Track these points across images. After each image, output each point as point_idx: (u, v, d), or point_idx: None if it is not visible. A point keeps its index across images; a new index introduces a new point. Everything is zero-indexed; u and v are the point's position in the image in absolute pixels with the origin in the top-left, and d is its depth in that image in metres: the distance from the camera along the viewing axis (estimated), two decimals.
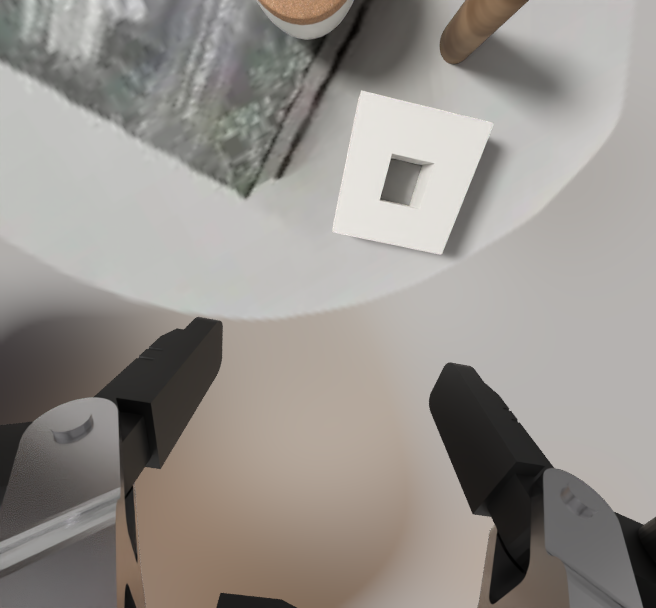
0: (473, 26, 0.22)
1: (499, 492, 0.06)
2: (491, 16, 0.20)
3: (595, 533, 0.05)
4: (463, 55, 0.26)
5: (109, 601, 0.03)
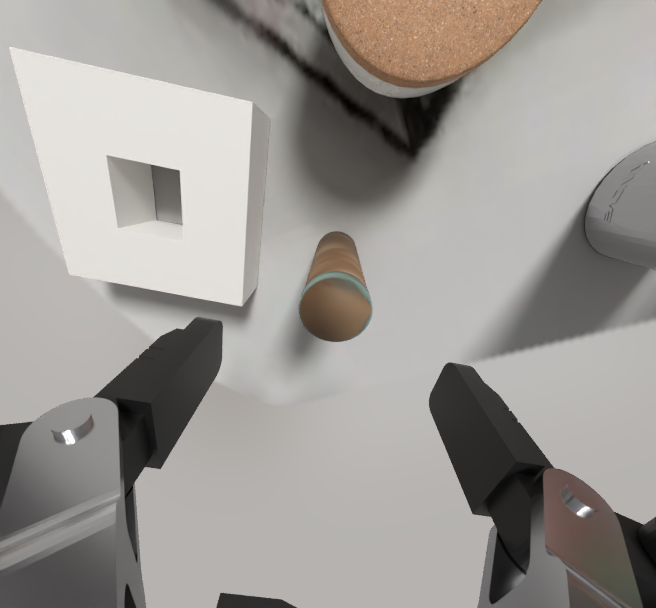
0: (315, 259, 0.17)
1: (499, 492, 0.06)
2: None
3: (595, 533, 0.05)
4: None
5: (109, 600, 0.03)
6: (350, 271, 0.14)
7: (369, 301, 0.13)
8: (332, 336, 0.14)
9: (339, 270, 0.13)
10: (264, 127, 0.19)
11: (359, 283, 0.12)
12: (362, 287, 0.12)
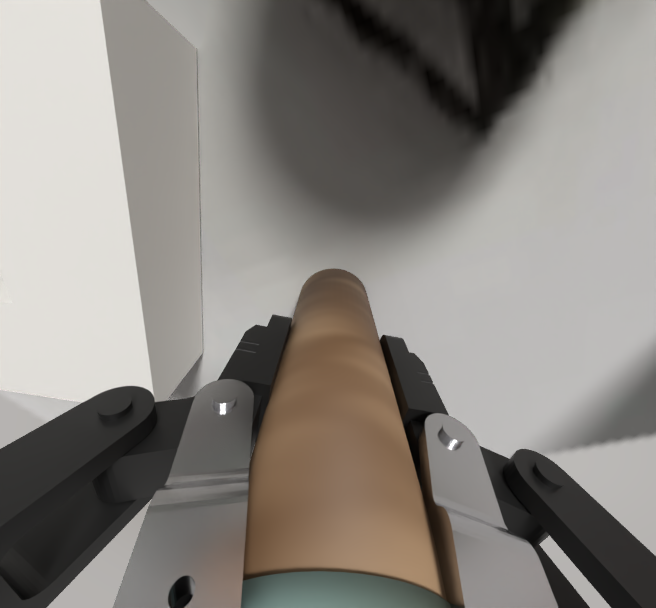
0: (283, 363, 0.07)
1: None
2: (257, 437, 0.06)
3: (452, 458, 0.05)
4: None
5: (238, 574, 0.03)
6: (385, 518, 0.04)
7: None
8: None
9: (347, 541, 0.03)
10: (177, 61, 0.09)
11: None
12: None
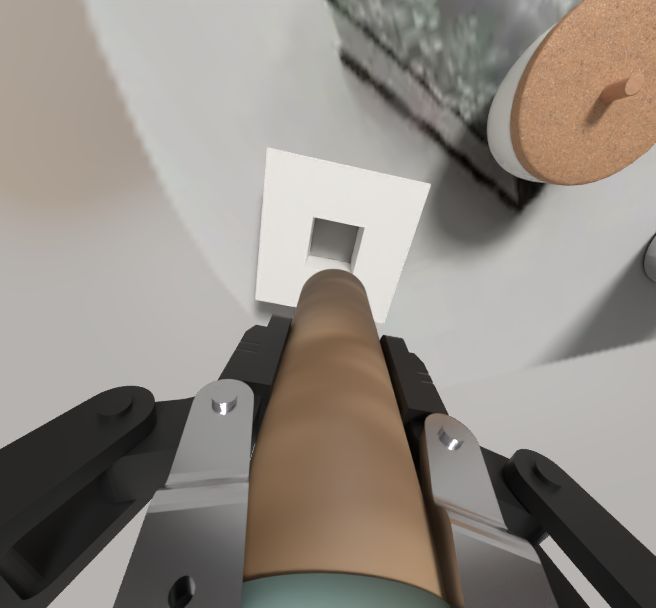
0: (283, 363, 0.07)
1: None
2: (257, 438, 0.06)
3: (452, 458, 0.05)
4: None
5: (238, 574, 0.03)
6: (385, 520, 0.04)
7: None
8: None
9: (346, 543, 0.03)
10: None
11: None
12: None
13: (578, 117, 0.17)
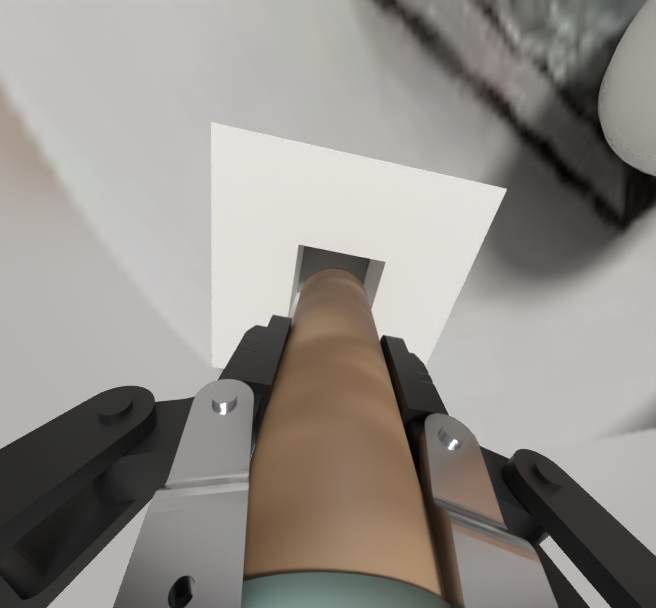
0: (283, 362, 0.07)
1: None
2: (257, 438, 0.06)
3: (452, 458, 0.05)
4: None
5: (238, 574, 0.03)
6: (385, 519, 0.04)
7: None
8: None
9: (346, 542, 0.03)
10: None
11: None
12: None
13: None
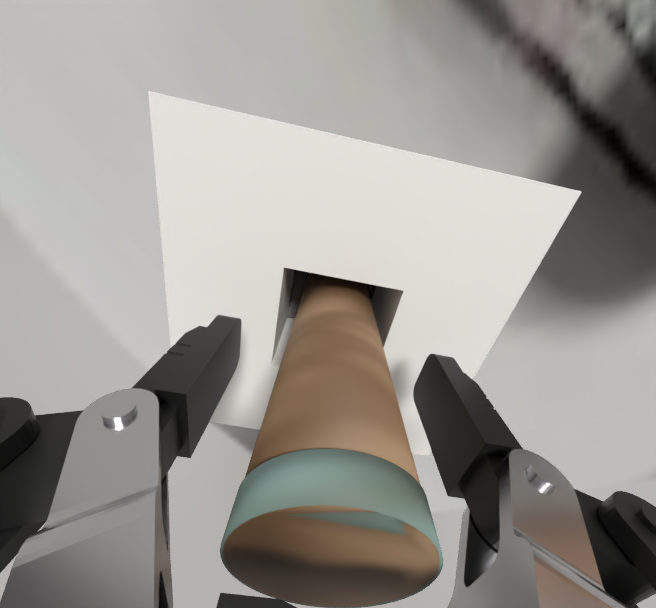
0: (293, 334, 0.09)
1: (471, 473, 0.06)
2: (273, 388, 0.07)
3: (552, 506, 0.05)
4: None
5: (147, 586, 0.03)
6: (372, 426, 0.05)
7: (436, 552, 0.04)
8: (322, 600, 0.05)
9: (343, 435, 0.05)
10: None
11: (407, 509, 0.04)
12: (417, 523, 0.04)
13: None
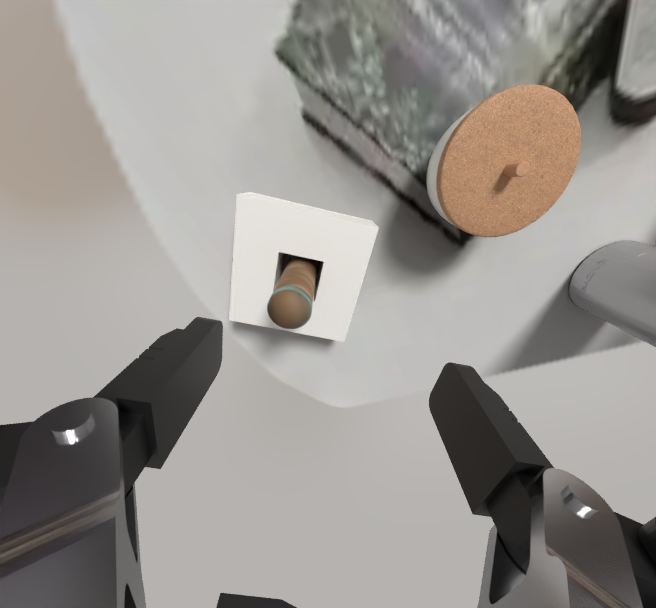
0: (282, 274, 0.26)
1: (499, 492, 0.06)
2: None
3: (595, 533, 0.05)
4: None
5: (109, 601, 0.03)
6: (300, 285, 0.22)
7: (309, 304, 0.21)
8: (288, 325, 0.22)
9: (292, 285, 0.21)
10: None
11: (303, 293, 0.21)
12: (305, 296, 0.21)
13: (487, 187, 0.21)
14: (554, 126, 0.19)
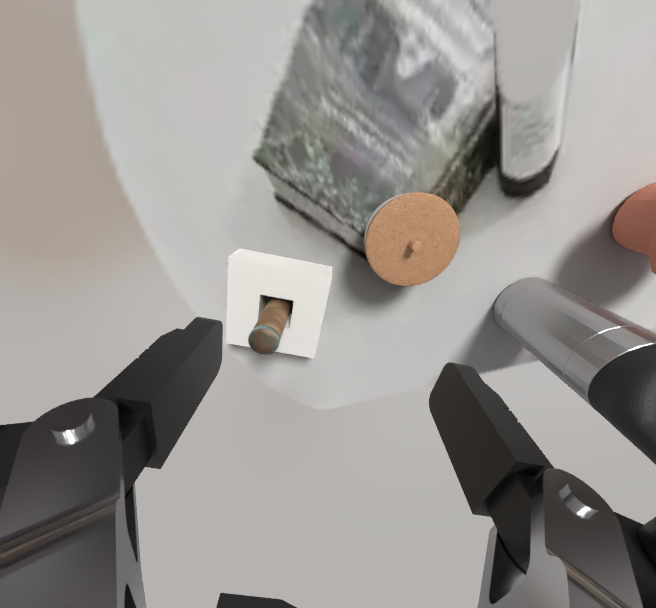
0: (262, 312, 0.35)
1: (499, 492, 0.06)
2: None
3: (595, 533, 0.05)
4: None
5: (109, 600, 0.03)
6: (271, 324, 0.31)
7: (277, 337, 0.30)
8: (263, 352, 0.31)
9: (265, 324, 0.31)
10: None
11: (272, 330, 0.30)
12: (273, 332, 0.30)
13: (398, 254, 0.30)
14: (437, 217, 0.28)
